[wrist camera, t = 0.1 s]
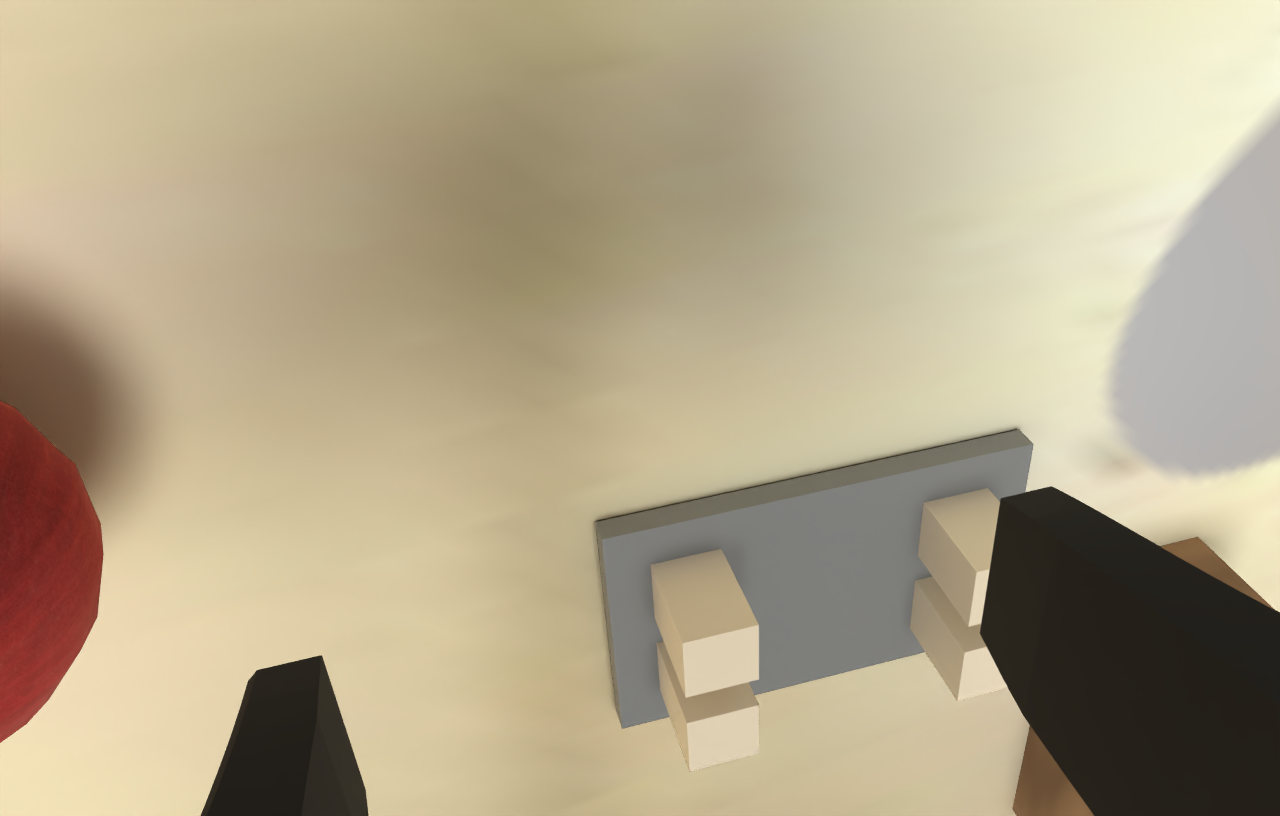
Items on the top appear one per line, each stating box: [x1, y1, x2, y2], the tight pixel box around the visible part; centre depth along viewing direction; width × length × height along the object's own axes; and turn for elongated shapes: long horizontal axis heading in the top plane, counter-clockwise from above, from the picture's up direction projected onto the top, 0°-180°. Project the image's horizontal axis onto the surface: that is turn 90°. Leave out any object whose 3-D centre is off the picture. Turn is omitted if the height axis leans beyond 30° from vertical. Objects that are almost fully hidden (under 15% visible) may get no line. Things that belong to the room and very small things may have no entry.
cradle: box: [595, 430, 1033, 772], centre depth 25 cm, size 10×6×3 cm, turn 93°
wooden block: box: [1013, 537, 1273, 816], centre depth 30 cm, size 10×4×5 cm, turn 3°
